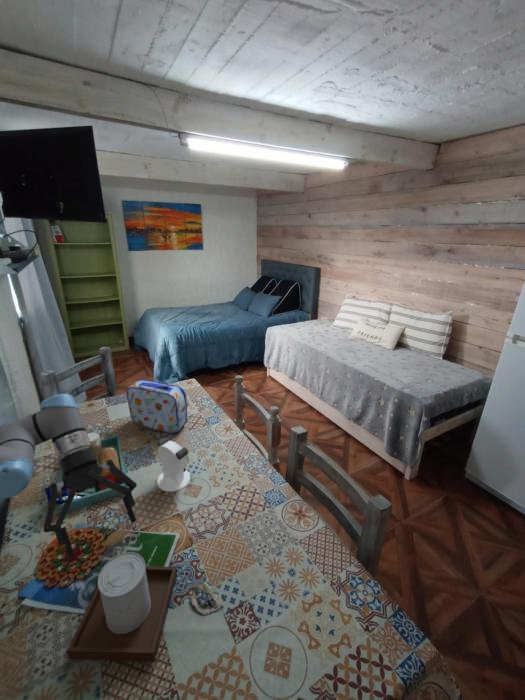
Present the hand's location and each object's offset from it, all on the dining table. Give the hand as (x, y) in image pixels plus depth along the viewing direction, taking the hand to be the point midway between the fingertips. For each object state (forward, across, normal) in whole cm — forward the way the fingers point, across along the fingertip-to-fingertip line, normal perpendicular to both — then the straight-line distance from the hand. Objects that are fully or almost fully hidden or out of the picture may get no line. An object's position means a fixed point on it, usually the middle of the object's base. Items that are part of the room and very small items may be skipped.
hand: (105, 538), depth 73 cm
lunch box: (-29, +40, +51) cm, 71 cm away
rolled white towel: (+17, 0, +4) cm, 17 cm away
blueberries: (+24, +15, -2) cm, 29 cm away
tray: (+17, 0, +5) cm, 18 cm away
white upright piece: (-4, +29, +27) cm, 39 cm away
